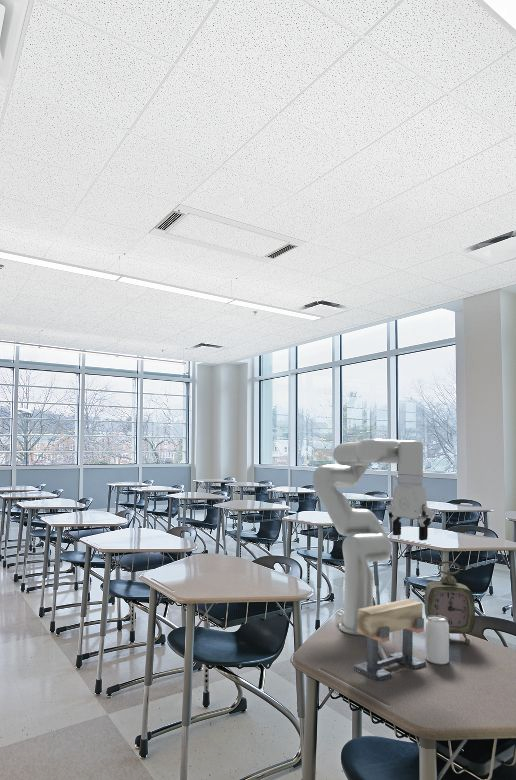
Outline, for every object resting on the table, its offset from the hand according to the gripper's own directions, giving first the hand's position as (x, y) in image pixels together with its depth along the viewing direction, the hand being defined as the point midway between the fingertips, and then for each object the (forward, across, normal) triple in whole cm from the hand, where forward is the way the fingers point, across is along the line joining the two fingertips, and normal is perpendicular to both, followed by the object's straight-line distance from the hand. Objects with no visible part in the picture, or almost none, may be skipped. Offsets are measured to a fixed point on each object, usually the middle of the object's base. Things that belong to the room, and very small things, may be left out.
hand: (409, 537), depth 163 cm
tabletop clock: (+34, -2, +23) cm, 42 cm away
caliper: (+35, -7, -6) cm, 36 cm away
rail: (+24, +3, -12) cm, 27 cm away
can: (+34, +7, +4) cm, 35 cm away
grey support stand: (+34, +3, -12) cm, 36 cm away
